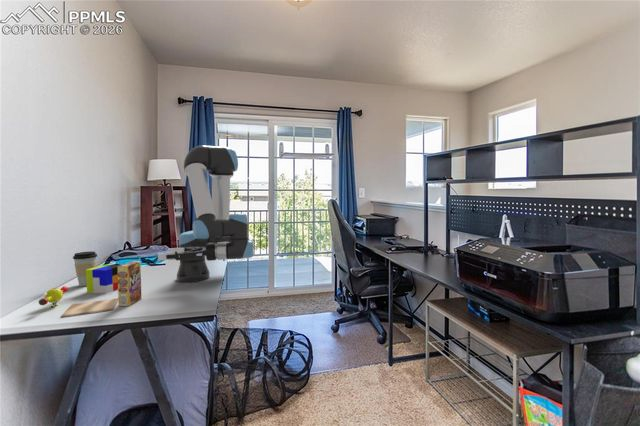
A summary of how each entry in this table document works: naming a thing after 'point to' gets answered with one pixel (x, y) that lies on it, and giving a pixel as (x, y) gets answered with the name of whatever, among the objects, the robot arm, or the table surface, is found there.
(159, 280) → the table surface
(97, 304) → the cork mat
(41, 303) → the toy figure
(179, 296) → the table surface
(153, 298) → the table surface
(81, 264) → the coffee cup
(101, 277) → the puzzle toy
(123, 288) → the candy box
